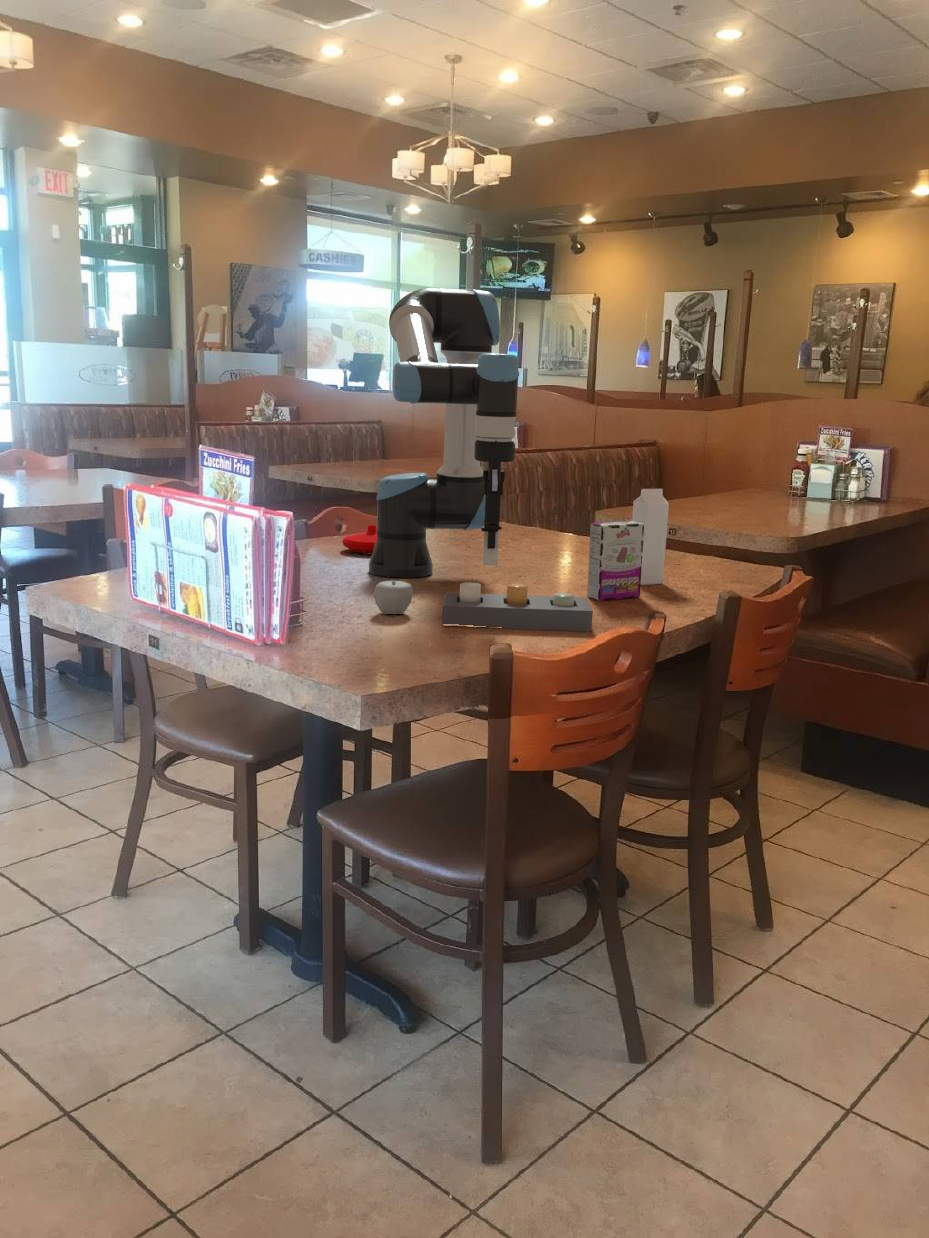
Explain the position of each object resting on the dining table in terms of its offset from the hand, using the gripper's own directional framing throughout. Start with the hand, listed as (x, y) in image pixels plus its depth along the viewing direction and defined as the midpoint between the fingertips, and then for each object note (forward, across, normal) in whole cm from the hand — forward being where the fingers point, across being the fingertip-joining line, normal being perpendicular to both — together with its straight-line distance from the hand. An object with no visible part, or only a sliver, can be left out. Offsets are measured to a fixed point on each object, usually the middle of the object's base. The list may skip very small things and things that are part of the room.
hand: (490, 564), depth 191 cm
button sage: (+10, -1, -14) cm, 18 cm away
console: (+11, -1, -5) cm, 12 cm away
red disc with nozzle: (+12, +74, +28) cm, 81 cm away
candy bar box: (+11, +25, -28) cm, 39 cm away
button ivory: (+9, 0, +4) cm, 9 cm away
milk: (+12, +43, -39) cm, 59 cm away
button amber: (+8, -1, -5) cm, 10 cm away
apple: (+11, +3, +18) cm, 22 cm away
